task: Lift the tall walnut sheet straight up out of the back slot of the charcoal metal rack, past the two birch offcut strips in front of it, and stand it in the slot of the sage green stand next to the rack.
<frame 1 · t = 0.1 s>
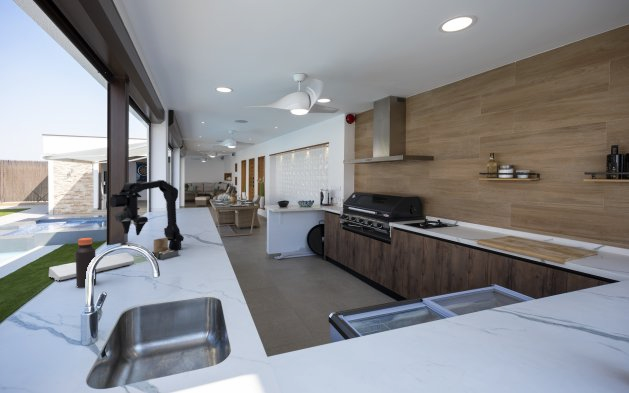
hand: (132, 234, 173), 15 cm above the worktop, tool pointing down, fingers open, 9 cm apart
bottle: (86, 286, 135), on the worktop
walnut sheet: (161, 255, 183), point 1 cm above the worktop, touching offcut rack
offcut strip middle: (164, 256, 182), point 1 cm above the worktop, touching offcut rack
decorative molding: (96, 270, 155), on the worktop, touching sage stand
offcut rack: (164, 257, 182), on the worktop
offcut strip front: (168, 257, 181), point 1 cm above the worktop, touching offcut rack
sage stand: (139, 262, 172), on the worktop
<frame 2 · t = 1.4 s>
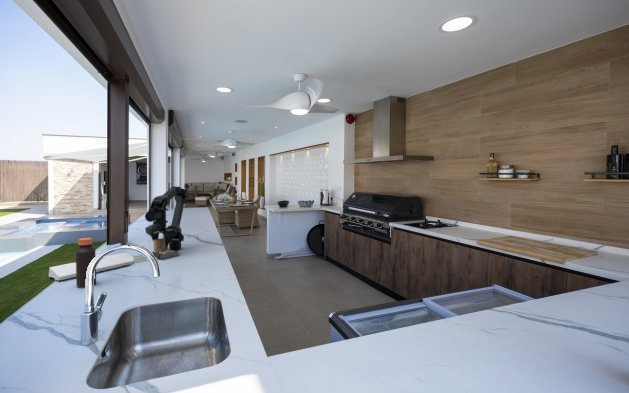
hand: (161, 246, 183), 6 cm above the worktop, tool pointing down, fingers open, 9 cm apart
nothing on the worktop moved.
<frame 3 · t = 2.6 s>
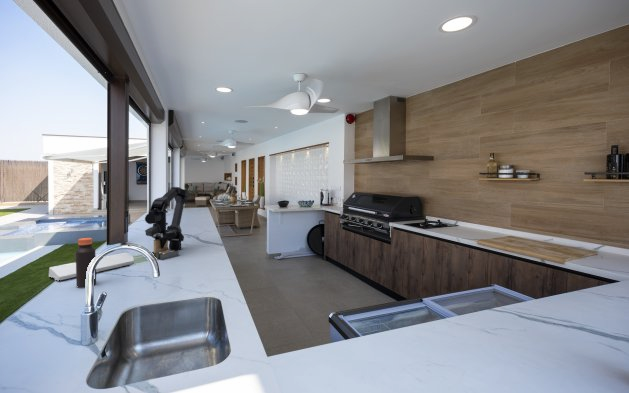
hand: (160, 248, 183), 5 cm above the worktop, tool pointing down, fingers closed on walnut sheet, 2 cm apart
walnut sheet: (161, 255, 183), point 1 cm above the worktop, touching gripper, offcut rack
everything else where it was.
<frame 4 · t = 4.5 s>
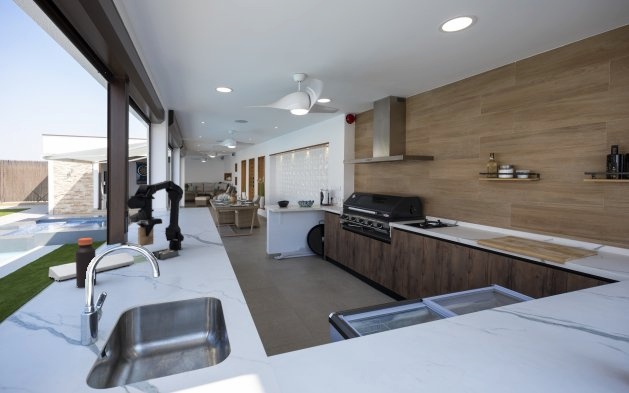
hand: (146, 236, 174), 14 cm above the worktop, tool pointing down, fingers closed on walnut sheet
walnut sheet: (145, 245, 174), point 9 cm above the worktop, touching gripper
everything else where it was.
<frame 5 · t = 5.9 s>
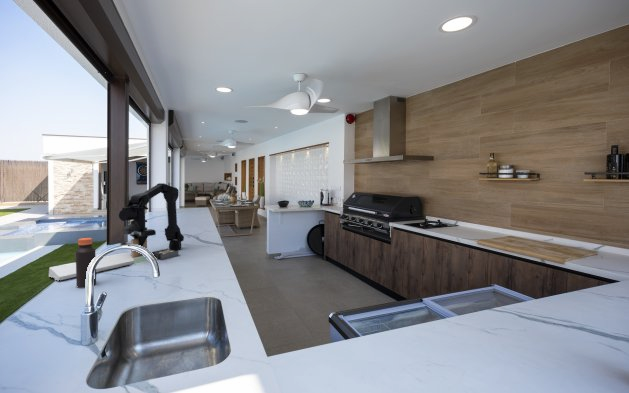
hand: (139, 247, 171), 8 cm above the worktop, tool pointing down, fingers closed on walnut sheet, 2 cm apart
walnut sheet: (139, 256, 171), point 3 cm above the worktop, touching gripper
everything else where it was.
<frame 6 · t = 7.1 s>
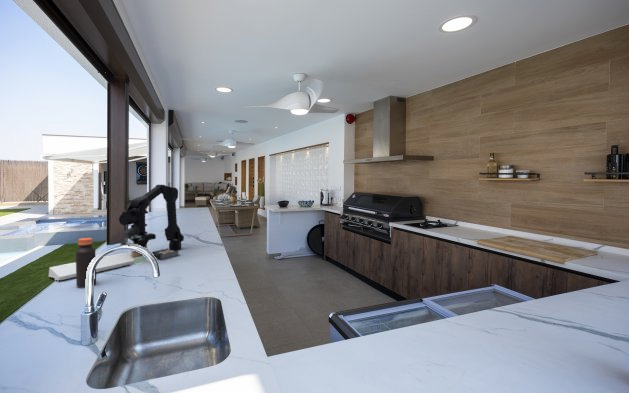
hand: (139, 251, 171), 6 cm above the worktop, tool pointing down, fingers open, 3 cm apart
walnut sheet: (139, 261, 171), point 1 cm above the worktop, touching decorative molding
decorative molding: (96, 270, 155), on the worktop, touching sage stand, walnut sheet
everything else where it was.
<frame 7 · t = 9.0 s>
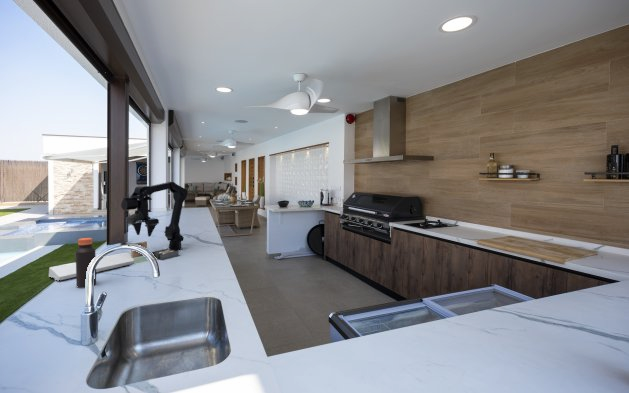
hand: (143, 235, 181), 13 cm above the worktop, tool pointing down, fingers open, 9 cm apart
nothing on the worktop moved.
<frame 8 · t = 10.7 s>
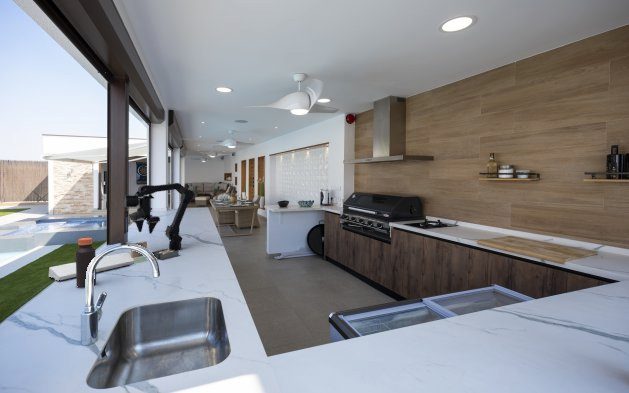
hand: (145, 232, 187), 13 cm above the worktop, tool pointing down, fingers open, 9 cm apart
nothing on the worktop moved.
at the end: walnut sheet 0.3 cm off-centre on the sage stand, point 0.7 cm above the sage stand's base; walnut sheet tilted 1°; the gripper is holding nothing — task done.
